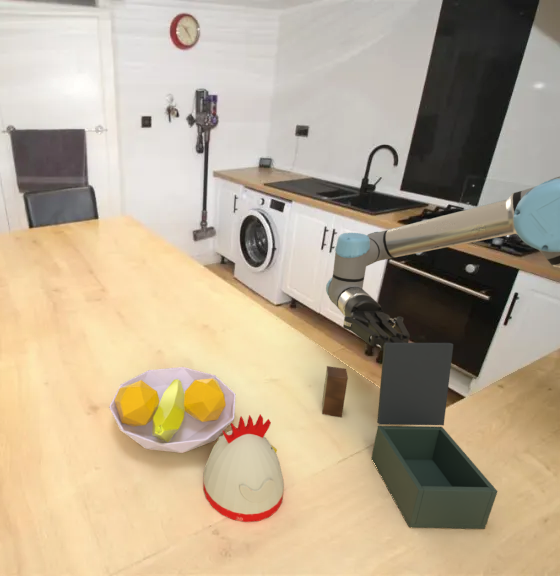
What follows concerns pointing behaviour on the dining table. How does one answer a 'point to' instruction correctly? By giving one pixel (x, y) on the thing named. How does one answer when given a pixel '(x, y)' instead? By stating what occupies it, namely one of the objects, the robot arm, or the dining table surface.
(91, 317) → the dining table surface
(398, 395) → the dark grey flat panel
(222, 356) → the dining table surface
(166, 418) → the fruit bowl
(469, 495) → the dark green tray box
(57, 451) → the dining table surface
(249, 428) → the kitchen timer
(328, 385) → the block
